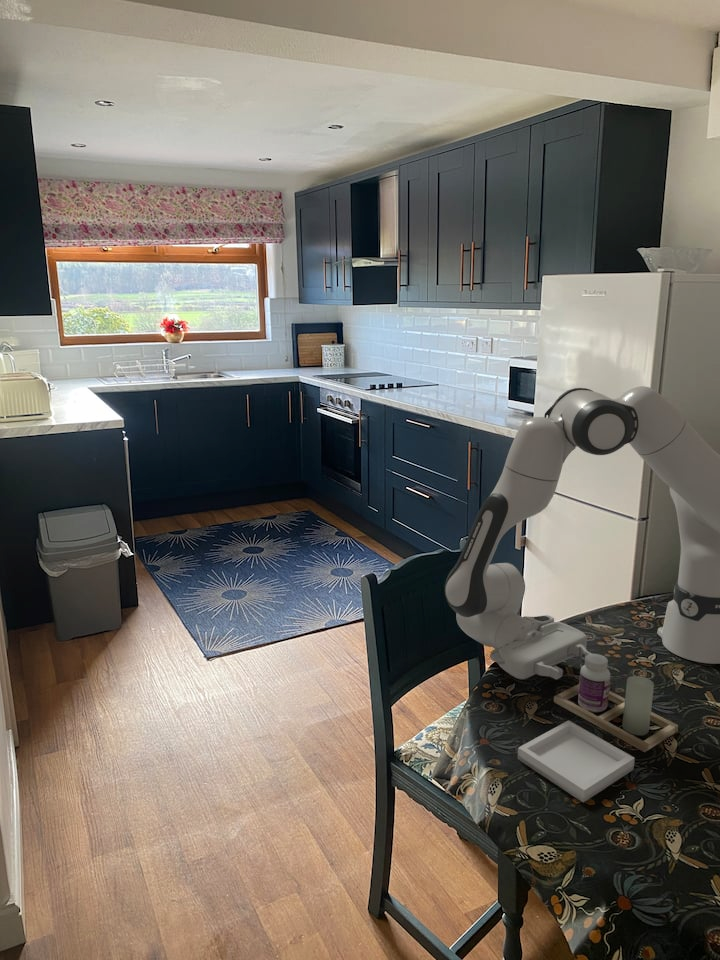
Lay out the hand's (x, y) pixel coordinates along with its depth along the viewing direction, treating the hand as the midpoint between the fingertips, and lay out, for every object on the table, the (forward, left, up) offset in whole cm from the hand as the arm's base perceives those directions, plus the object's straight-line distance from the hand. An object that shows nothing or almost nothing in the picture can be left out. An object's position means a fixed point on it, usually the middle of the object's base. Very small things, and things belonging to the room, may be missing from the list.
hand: (576, 667), depth 135 cm
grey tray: (+17, +13, -6) cm, 22 cm away
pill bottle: (0, +4, -6) cm, 7 cm away
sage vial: (0, +13, -6) cm, 14 cm away
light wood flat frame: (0, +9, -6) cm, 11 cm away
